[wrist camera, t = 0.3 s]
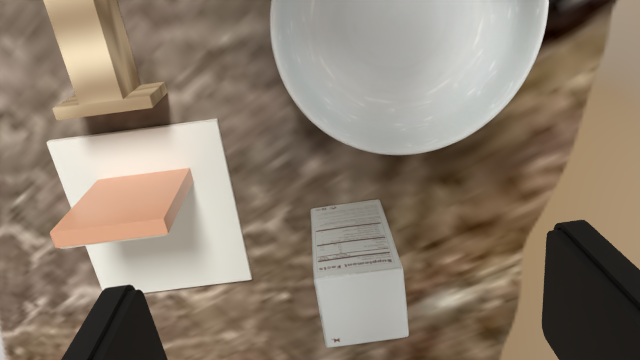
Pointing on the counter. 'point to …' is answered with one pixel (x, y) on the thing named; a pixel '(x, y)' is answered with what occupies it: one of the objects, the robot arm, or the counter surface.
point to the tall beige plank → (98, 60)
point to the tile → (124, 209)
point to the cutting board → (192, 219)
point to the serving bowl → (404, 66)
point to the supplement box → (357, 274)
